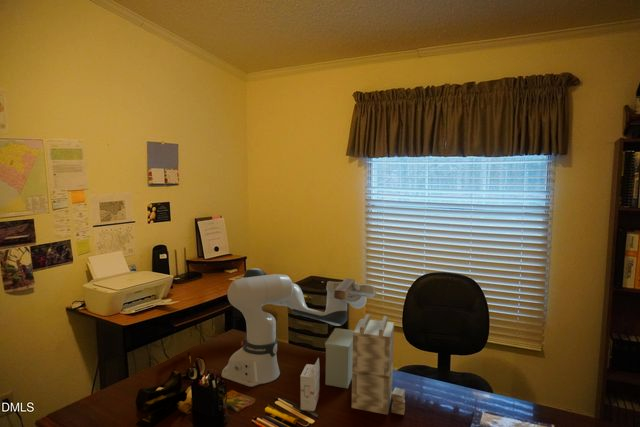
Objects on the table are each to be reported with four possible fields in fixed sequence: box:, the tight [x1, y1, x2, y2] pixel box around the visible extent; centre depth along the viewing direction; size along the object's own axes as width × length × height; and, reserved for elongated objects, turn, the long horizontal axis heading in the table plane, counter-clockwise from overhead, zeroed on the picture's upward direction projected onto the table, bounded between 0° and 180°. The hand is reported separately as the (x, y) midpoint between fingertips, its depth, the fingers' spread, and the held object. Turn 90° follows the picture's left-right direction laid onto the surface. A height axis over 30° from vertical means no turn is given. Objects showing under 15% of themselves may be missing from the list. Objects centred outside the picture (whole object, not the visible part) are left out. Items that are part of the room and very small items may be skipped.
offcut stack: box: [391, 387, 406, 416], centre depth 120 cm, size 4×5×6 cm
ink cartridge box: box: [299, 357, 321, 412], centre depth 123 cm, size 9×5×15 cm, turn 168°
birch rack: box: [351, 313, 395, 416], centre depth 125 cm, size 12×13×28 cm
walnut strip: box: [334, 278, 356, 299], centre depth 142 cm, size 4×18×3 cm, turn 163°
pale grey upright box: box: [324, 327, 355, 389], centre depth 140 cm, size 9×15×16 cm, turn 163°
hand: (347, 284), depth 146 cm, fingers closed on walnut strip, 4 cm apart
